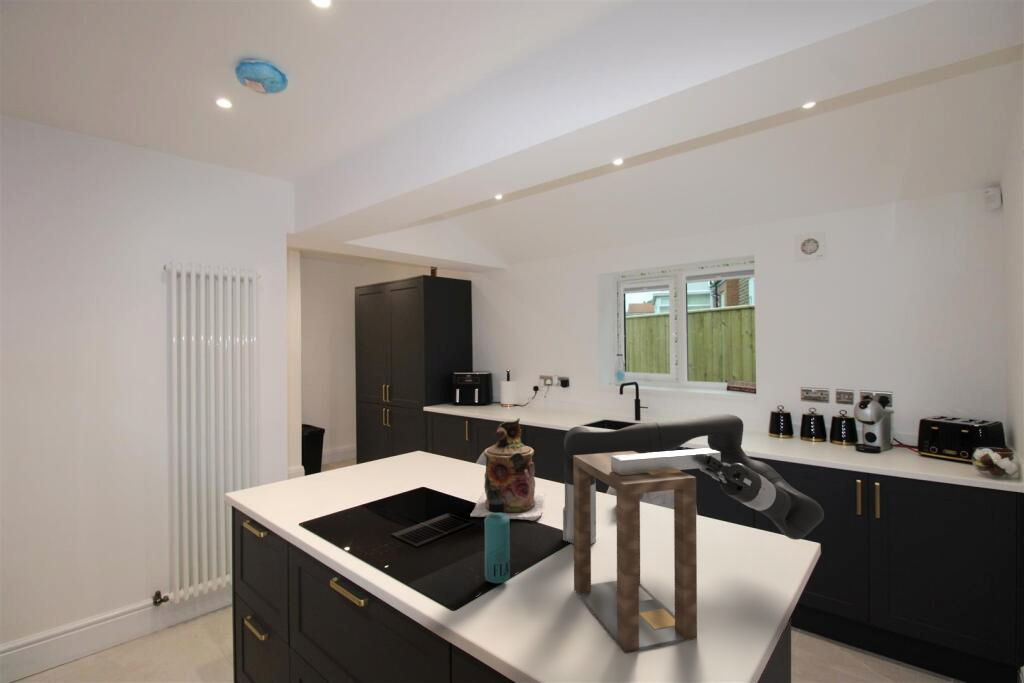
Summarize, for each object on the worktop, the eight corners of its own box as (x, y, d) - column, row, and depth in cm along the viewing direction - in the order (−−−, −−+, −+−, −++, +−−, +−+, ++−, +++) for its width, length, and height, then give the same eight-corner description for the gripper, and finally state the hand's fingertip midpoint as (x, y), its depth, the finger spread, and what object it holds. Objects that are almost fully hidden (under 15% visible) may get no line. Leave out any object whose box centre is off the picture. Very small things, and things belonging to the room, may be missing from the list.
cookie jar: (483, 495, 183) (482, 412, 183) (546, 498, 179) (546, 413, 179) (468, 519, 158) (468, 423, 158) (541, 522, 155) (541, 425, 155)
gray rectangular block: (708, 461, 105) (708, 448, 105) (720, 466, 102) (720, 452, 102) (611, 470, 99) (610, 455, 99) (620, 475, 95) (620, 460, 95)
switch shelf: (633, 580, 117) (633, 450, 117) (697, 638, 94) (696, 476, 94) (574, 589, 113) (573, 454, 113) (625, 653, 89) (624, 483, 90)
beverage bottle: (491, 592, 112) (490, 507, 112) (479, 579, 117) (479, 499, 117) (515, 585, 115) (515, 503, 115) (503, 573, 120) (502, 495, 120)
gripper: (731, 464, 113) (680, 433, 109) (780, 480, 100) (724, 446, 96) (718, 492, 112) (666, 462, 108) (766, 513, 98) (708, 479, 95)
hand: (693, 454), depth 102 cm, fingers open, 7 cm apart
